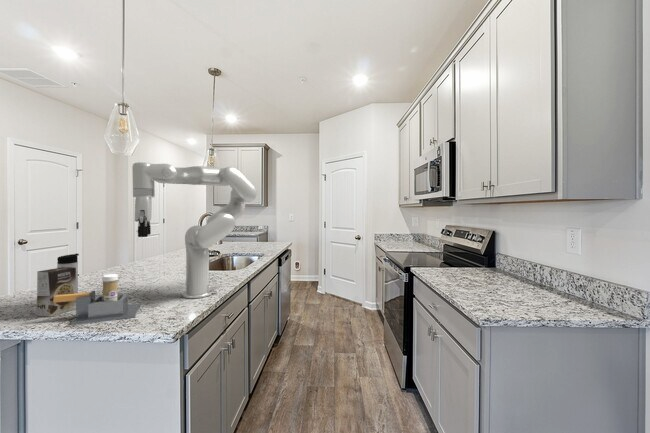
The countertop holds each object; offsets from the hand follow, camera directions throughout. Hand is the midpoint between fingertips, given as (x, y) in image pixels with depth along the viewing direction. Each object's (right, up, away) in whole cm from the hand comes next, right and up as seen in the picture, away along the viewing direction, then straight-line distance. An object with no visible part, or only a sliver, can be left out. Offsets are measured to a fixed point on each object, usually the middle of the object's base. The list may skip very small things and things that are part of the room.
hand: (144, 235), depth 119 cm
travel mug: (-31, -28, 0) cm, 42 cm away
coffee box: (-26, -28, -10) cm, 40 cm away
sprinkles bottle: (-6, -27, -11) cm, 30 cm away
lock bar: (-15, -22, -16) cm, 31 cm away
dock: (-6, -28, -12) cm, 31 cm away
